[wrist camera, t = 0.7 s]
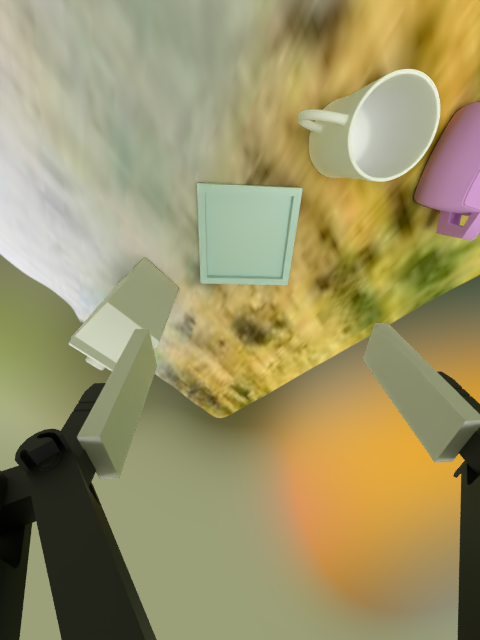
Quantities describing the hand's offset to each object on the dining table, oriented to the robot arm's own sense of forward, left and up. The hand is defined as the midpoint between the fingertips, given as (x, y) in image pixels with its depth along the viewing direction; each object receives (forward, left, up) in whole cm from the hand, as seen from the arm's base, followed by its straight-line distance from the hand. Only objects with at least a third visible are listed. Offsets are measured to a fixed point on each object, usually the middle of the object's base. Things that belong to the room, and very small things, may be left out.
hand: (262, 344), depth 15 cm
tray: (0, +1, -27) cm, 27 cm away
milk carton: (+9, -15, -28) cm, 33 cm away
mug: (-13, +11, -28) cm, 32 cm away
